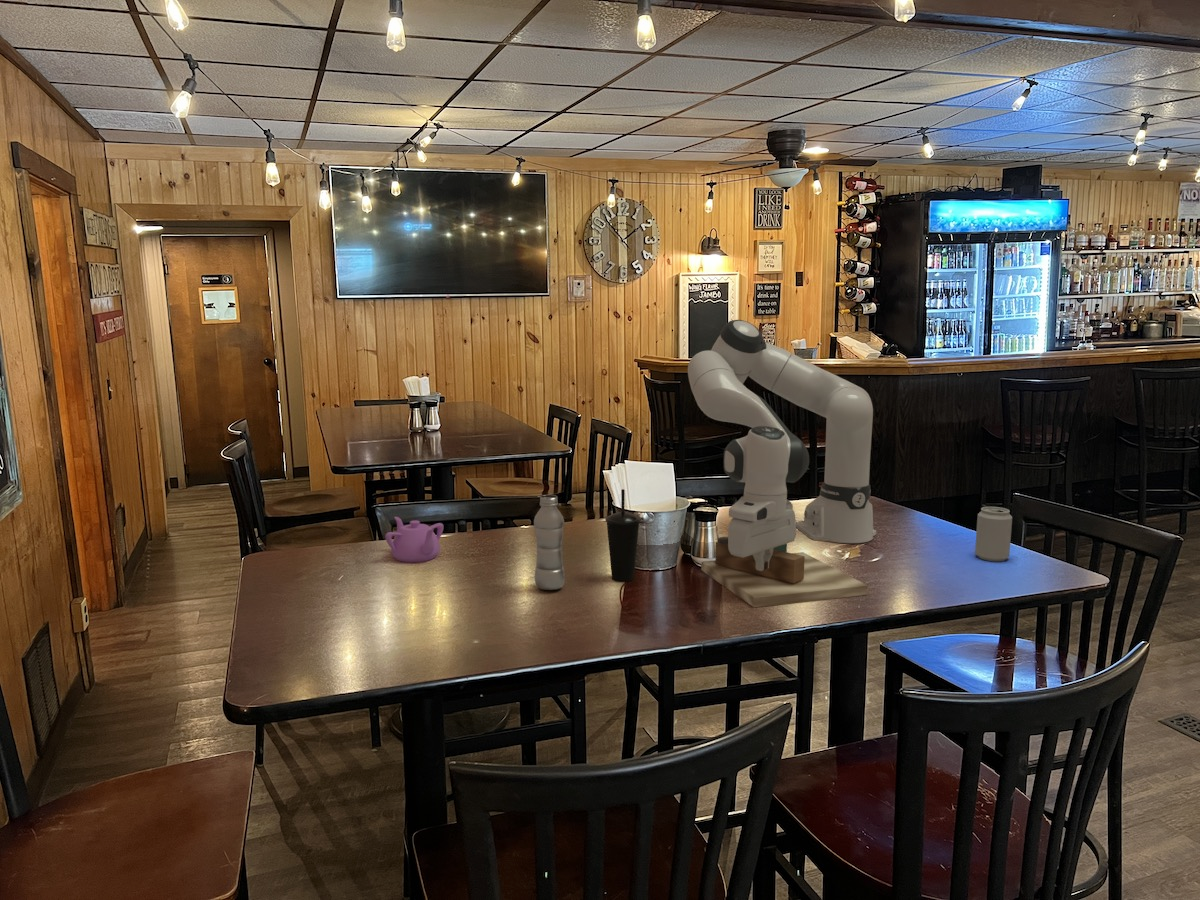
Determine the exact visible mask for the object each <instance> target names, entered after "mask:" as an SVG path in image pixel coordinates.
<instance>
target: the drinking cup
mask: <svg viewBox="0 0 1200 900" xmlns="http://www.w3.org/2000/svg"><path fill="white" fill-rule="evenodd" d="M625 492H626V491H625V489H624V488H623V489H621V498H620V499H621V505H620V507H621V511H620V512H615V513H612V514H610V515H608V516H606V517H605V519H604V520H605V522H606V530H607V540H608V551H609V560H610V572H611V573H610V574H611V580H613V581H615V582H619V583H620V582H622V583H627V582H631V581H633V580H634V578H635V570H636V569H635V568H636V557H637V550H638V549H637V545H638V537H639V536H638V535H639V527H640V522H641V517H640V516H638V515H635V514H634V513H631V512H626V511H625V500H626V499H625V496H626V495H625Z"/></svg>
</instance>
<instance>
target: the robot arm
mask: <svg viewBox="0 0 1200 900" xmlns="http://www.w3.org/2000/svg"><path fill="white" fill-rule="evenodd" d="M719 332H720V333H719V336H718V337H717V339H716V341H715V342H714V343H713V345H712V347H711V349H710V350H702V351H700V352H697V353H696V354H695V355H693V356H692V357H691V359H690V361H689V362H688V365H687V377H688V382H689V385H690V389H691V392H692V394H693V396H694V399H695V402H696V404H697V406H698V407H699V409H700V410H701V412H703V414H704V415H705V416H707V417H708V418H710V419H713V420H715V421H719V422H724V423H725V422H726V423H730V424H731V423H732V424H738V425H742V426H746V427H749V428H751V429H749V431H748V433H747V435H745V436H743V437H740V438H736V439H732V440H731V441H729V443H728V444H727V445H726V447H725V448H724V449H723V454H722V455H723V459H722V463H723V464H722V466H723V468H722V469H723V471H724V473H725V474H726V475H727V476H728V477H729V478H730V479H731V480H732V481H734V482H737V483H745V485H744V487H743V488H744V489H743V496H741V497H740V498H739V499H738V500H737V501H736V502H734V503H733V504H732V505H731V506H730V507H729V509H728V516H729V517H730V518H731V519H730V521H729V524H728V534H727V535H728V549H729V552H730V553H731V555H734V556H738V557H747V556H750V555H753V557H754V559H755V562H756V570H759V571H763V570H766V569H768V568H769V561H770V559H771V557H772V554H773V548H775V547H778V546H781V545H784V544H787V545H788V544H790V543H792V542H794V541H795V539H796V536H797V529H798V530H799V531H800V532H802V533H803V534H804V535H806V536H807V537H808V538H810V539H811V540H813V541H822V542H823V541H826V542H831V543H832V542H833V543H840V544H863V543H868V542H871V541H872V540H873V539H874V537H875V536H877V530H875V529H874V515H873V504H872V503H871V502H870V501H869V500H870V499H871V491H872V489H871V484H870V469H871V467H870V466H871V464H870V463H871V450H872V436H873V435H872V434H873V420H874V419H873V417H874V408H873V407H874V406H873V402H872V399H871V397H870V394H869V393H868V392H867V390H865V389H864V388H862V387H861V386H858V385H856V384H855V383H852V382H850V381H849V380H847V379H844V378H842V377H841V376H838V375H837V374H834V373H832V372H829V371H828V370H825V369H823V368H821V367H819V366H818V365H815V364H814V363H811V362H810V361H808V360H806V359H804V358H802V357H801V356H798V355H796V354H794V353H792V352H790V351H789V350H786V349H785V348H782V347H779V346H777V345H775V344H772V343H770V342H766V340H764V336H763V334H762V333H761V331H760V330H759V328H758V327H757V326H756V325H754V324H753V323H751V322H749V321H746V320H744V319H743V320H742V319H734V320H730V321H728V322H727V323H726V324H725V325H724V326H723V327H722V329H721V330H720V331H719ZM748 377H749V378H750V379H751V380H753V381H754V382H756V383H757V384H759V385H760V386H761V387H763V388H765V389H767V390H769V391H771V392H772V393H773V394H775V395H777V396H779V397H781V398H782V399H784V400H787V401H788V402H791V403H792V404H794V405H796V406H798V407H801V408H803V409H805V410H808V411H810V412H813V413H815V414H817V415H818V416H820V417H823V418H825V419H826V425H825V426H826V428H825V455H824V456H825V457H824V459H825V461H824V481H823V482H819V485H818V486H819V487H820V491H819V496H817V497H816V498H814V500H812V501H811V502H809V504H807V505H806V506H805V509H804V513H803V516H804V517H803V520H800V521H796V514H795V513H796V512H795V510H794V508H793V505H794V504H793V503H792V502H791V501H790V500H789V499H787V498H788V489H787V483H791V484H792V483H796V482H798V481H799V480H800V479H801V478H802V477H803V476H804V475H805V474H806V472H807V471H808V468H809V465H810V454H809V451H808V449H807V446H806V445H805V444H804V443H803V441H802V440H801V439H800V438H799V437H798V436H796V435H795V434H794V433H792V432H791V431H790V430H789V428H788V426H786V424H785V423H784V422H783V420H782V419H781V418H780V417H779V416H778V414H777V413H776V412H775V411H774V410H773V408H772V407H771V406H770V405H769V404H768V402H767V401H766V400H764V398H763V397H762V396H760V395H758V394H756V393H755V392H753V391H751V390H750V389H749V388H747V387H746V385H744V383H745V381H746V380H747V378H748Z"/></svg>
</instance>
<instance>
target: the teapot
mask: <svg viewBox="0 0 1200 900" xmlns="http://www.w3.org/2000/svg"><path fill="white" fill-rule="evenodd" d="M394 520H395V522H396V531H388V532H387V533H385V535H384V538H385V541H386V543H387V545H388V546H389V548H390V553H391V556H393V558H395V560H397V561H399V562H402V563H411V564H412V563H415V564H416V563H425V562H427V561H428V562H429V561H432V560H434V559H435V558H436V557H437V556H438V554H439V553H440V551H441V546H440V542H439V541H440V539H441V537H442V535H443V533H444V532H443V531H444V524H443V523H442V522H438V523H434V524H432V525H430V526H429V525H428V524H426V523H421V522H420V520H411V521H409V524H404V523H403V521H402V519H401V518H400V517H399V516H394ZM436 528H437V530H436V531H437V532H436V534H435V532H434V530H435V529H436ZM393 537H394V538H393ZM392 538H393V539H392Z"/></svg>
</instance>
